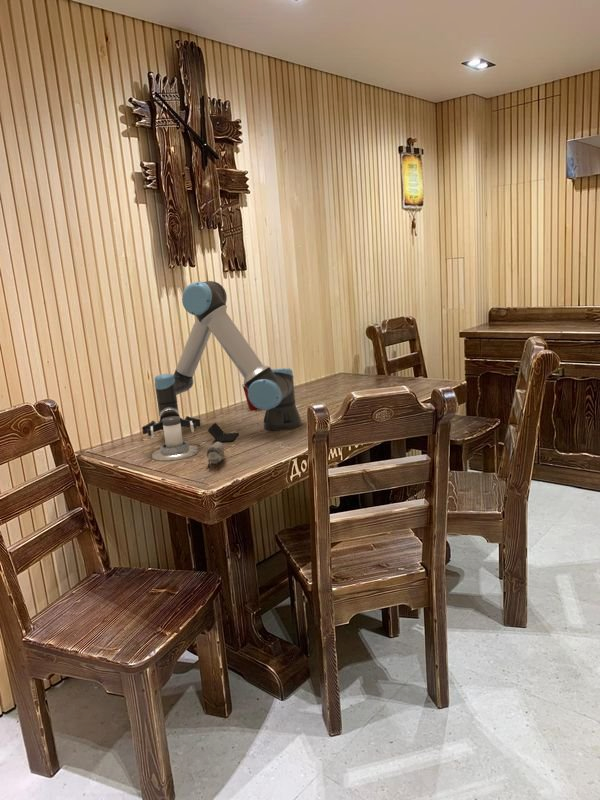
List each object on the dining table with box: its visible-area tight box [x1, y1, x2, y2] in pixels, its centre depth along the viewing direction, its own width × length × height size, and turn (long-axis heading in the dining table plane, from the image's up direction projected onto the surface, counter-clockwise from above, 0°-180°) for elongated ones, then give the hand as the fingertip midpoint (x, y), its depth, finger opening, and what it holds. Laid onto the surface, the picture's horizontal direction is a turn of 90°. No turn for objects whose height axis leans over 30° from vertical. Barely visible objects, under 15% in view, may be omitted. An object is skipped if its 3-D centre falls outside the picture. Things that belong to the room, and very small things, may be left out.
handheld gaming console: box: [207, 422, 240, 444], centre depth 226 cm, size 12×7×10 cm
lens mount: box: [151, 440, 199, 462], centre depth 210 cm, size 16×16×4 cm
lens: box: [162, 415, 184, 448], centre depth 209 cm, size 6×6×12 cm
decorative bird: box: [205, 441, 225, 471], centre depth 194 cm, size 5×16×8 cm, turn 179°
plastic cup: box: [241, 383, 258, 411], centre depth 274 cm, size 11×11×12 cm
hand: (172, 431), depth 206 cm, fingers open, 13 cm apart
